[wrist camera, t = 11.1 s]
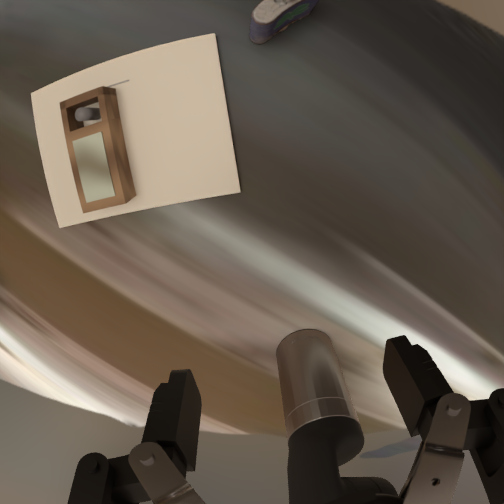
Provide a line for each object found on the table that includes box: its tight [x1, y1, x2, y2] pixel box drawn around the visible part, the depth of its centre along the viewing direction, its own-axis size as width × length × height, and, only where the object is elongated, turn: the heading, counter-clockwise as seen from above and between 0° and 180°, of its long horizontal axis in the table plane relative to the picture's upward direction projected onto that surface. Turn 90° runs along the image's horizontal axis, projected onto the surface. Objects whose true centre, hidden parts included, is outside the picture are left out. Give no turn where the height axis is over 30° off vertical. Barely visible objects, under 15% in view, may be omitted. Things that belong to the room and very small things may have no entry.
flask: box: [249, 0, 319, 44], centre depth 26 cm, size 9×3×11 cm, turn 129°
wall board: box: [31, 33, 241, 228], centre depth 33 cm, size 20×26×6 cm
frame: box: [60, 86, 136, 213], centre depth 33 cm, size 14×6×4 cm, turn 8°
